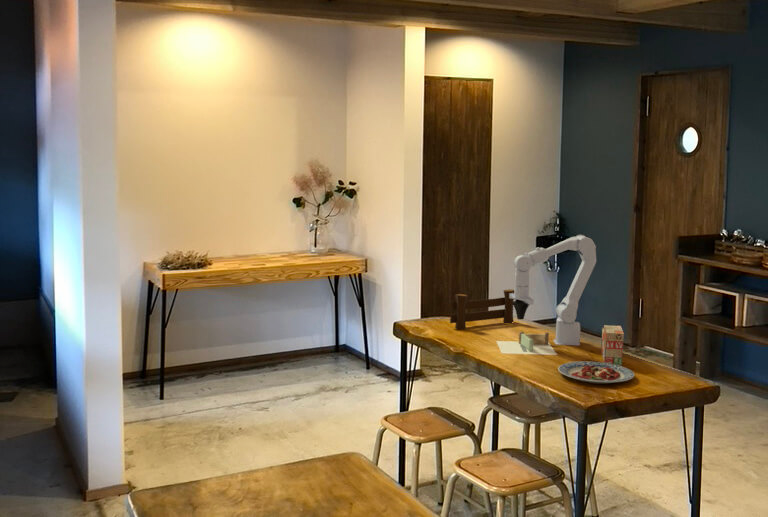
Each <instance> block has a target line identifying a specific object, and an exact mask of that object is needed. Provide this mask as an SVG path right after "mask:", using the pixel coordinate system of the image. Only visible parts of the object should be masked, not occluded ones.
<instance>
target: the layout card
mask: <svg viewBox="0 0 768 517" xmlns="http://www.w3.org/2000/svg"><path fill="white" fill-rule="evenodd" d="M495 342H496V344H497V346H498V348H499V350H500V353H501V355H502V354H509V355H543V356H545V355H547V356H549V355H550V356H558V353H557V352H556V351H555V349H554V348H553V347H552V345H551V344H550V342H549V341H548V345H545V344H533V351H529V350H528V349H527V348H525V347H524V346H523V345H522V344H519V341H511V340H510V341H509V340H508V341H506V340H496V341H495Z"/></svg>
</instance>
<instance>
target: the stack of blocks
mask: <svg viewBox="0 0 768 517" xmlns="http://www.w3.org/2000/svg"><path fill="white" fill-rule="evenodd" d="M624 336H625V333H624V330H623V328H622V326H621V325H606V324H604V325H603V327H601V342H600V343H601V346H600V350H601V356H602V358H603V363H609V364H614V365H618V366H622V365H623V352H624V351H623V350H624V339H625V338H624Z"/></svg>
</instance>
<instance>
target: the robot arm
mask: <svg viewBox="0 0 768 517" xmlns="http://www.w3.org/2000/svg"><path fill="white" fill-rule="evenodd" d="M596 249H597V245H596V244H595V242H594V241H593V239H592V238H590V237H587V236H585V235H584V234H577V235H576V236H571V237H569V238H566V239H565V240H563V241H560V242H558V243H556V244H554V245H551V246H549V247H547V248H544V247H539V246H538V247H535V250H532V251H529V252H524V254H520V255H518V256H516V257H515V259H514V260H513V265H514V267H515V270H514V271H515V273H514V288H513V290H514V293H510V294H509V298H511V299H514V300H515V301H513V302H512V303H513V308H514V309H515V310H514V311H515V314H516V318H517V320H524V319H525V314H526V312H527V310H528V308H529V306H530V305H534V302H535V301H534V299H533V298H531V297H530V296H529V294H530V269H531V268H532V267H535V266H538V265H540V264H542V263H544V262H547V261H548V260H549V257H552V256H553V255H557V254H560V253H563V252H565V251H568V250H569V251H575V252H577V253H578V254H579V256H580V258H581V263H580V265H579V268H578V270H577V272H576V274H575V276H574V278H573V280H572V282H571V284H570V287H569V288H568V291H567V294H566V296H565V297H563V299H562V301H561V302H560V303H559V304H557V306H556V308H555V314H556V316H557V318H556V324H555V325H556V326H555V339H552V340H553V342H554V344H555V345H557V346H558V345H560V346H581V344H580V342H581V323H580V322H579V321H575V320H576V318H577V311H578V308H579V301H580V299H581V296H582V294H583V292H584V290H585V288H586V285H587V283H588V281H589V279H590V276H591V275H592V273H593V271H594V268H595V266H596V263H597V251H596Z"/></svg>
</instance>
